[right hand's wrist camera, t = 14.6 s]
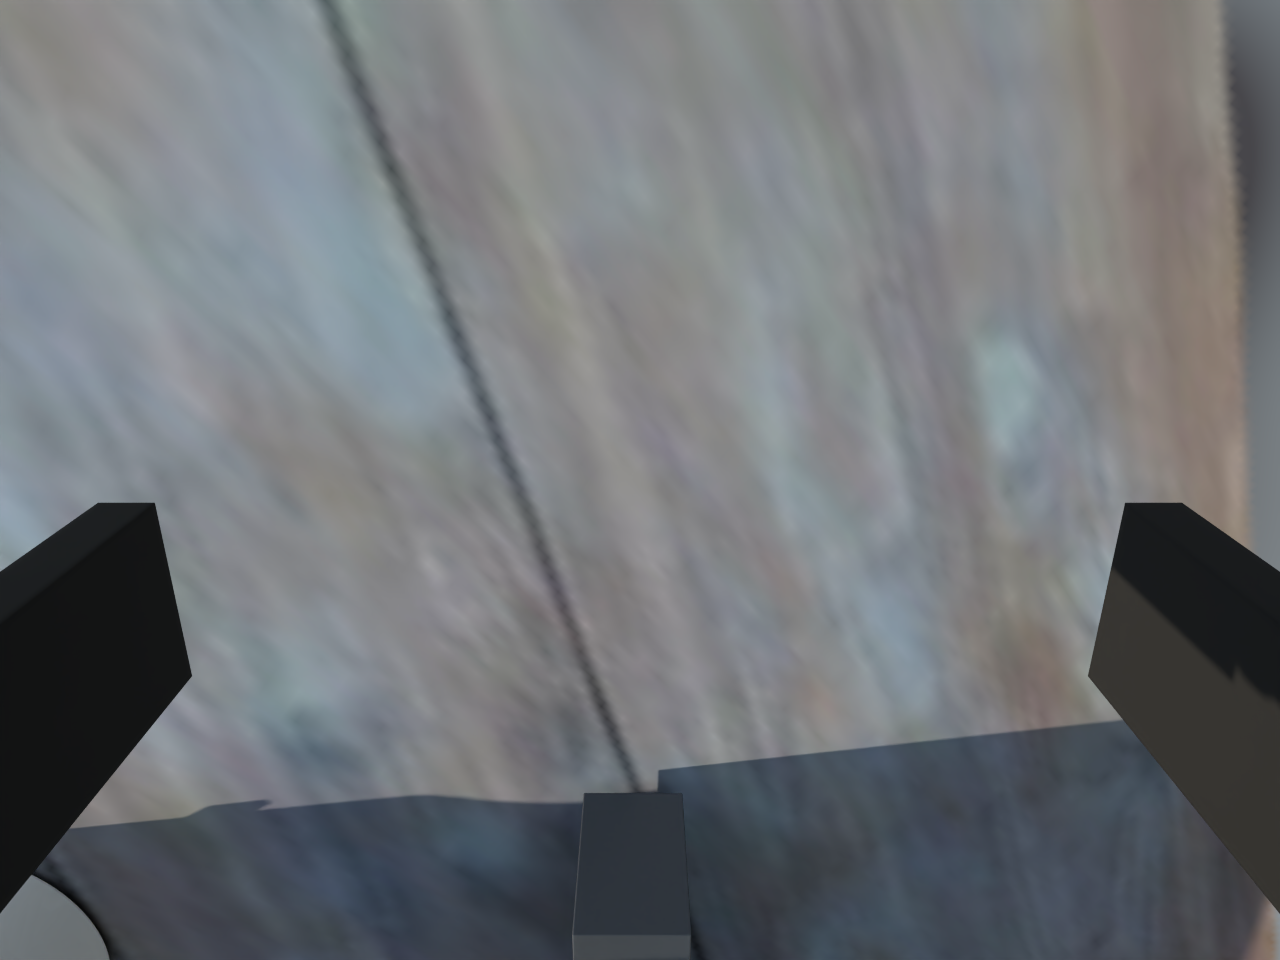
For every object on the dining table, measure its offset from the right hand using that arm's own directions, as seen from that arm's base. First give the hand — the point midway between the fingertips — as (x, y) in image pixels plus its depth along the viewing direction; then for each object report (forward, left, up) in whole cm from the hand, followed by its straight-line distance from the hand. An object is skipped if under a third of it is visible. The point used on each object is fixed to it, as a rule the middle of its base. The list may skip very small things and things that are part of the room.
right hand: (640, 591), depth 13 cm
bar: (+28, +27, -26) cm, 47 cm away
